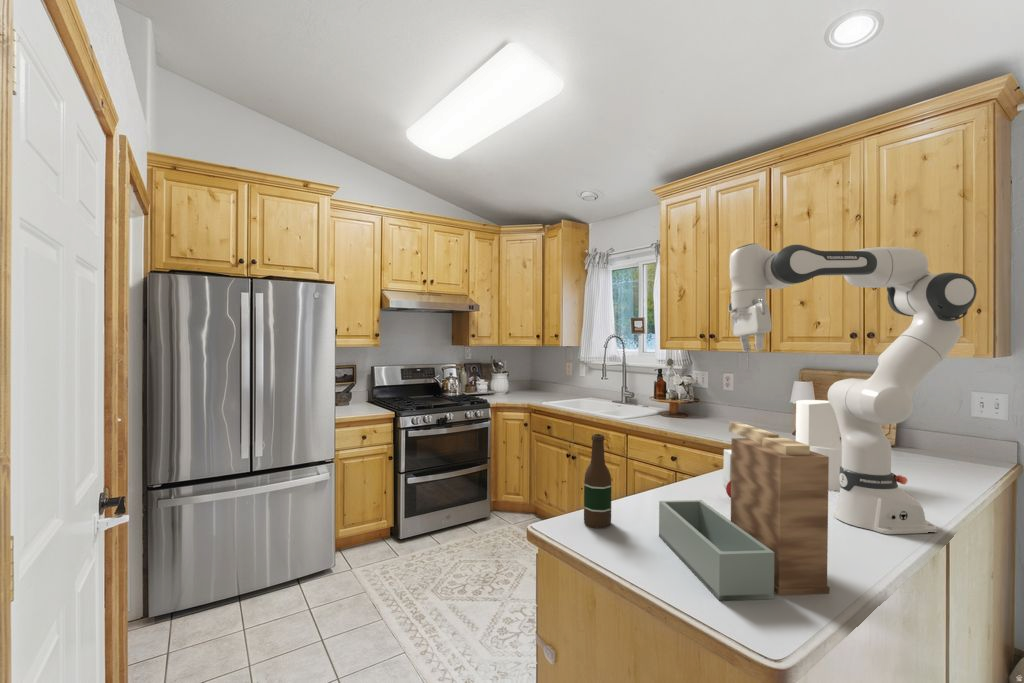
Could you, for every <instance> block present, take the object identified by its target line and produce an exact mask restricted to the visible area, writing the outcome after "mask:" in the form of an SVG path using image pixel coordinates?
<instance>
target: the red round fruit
mask: <svg viewBox="0 0 1024 683" xmlns="http://www.w3.org/2000/svg"><path fill="white" fill-rule="evenodd" d="M725 491H726V495H727V497H729V498H730V499H731V481H730V482H729V483H728V484H727V486H726V488H725Z"/></svg>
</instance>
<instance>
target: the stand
mask: <svg viewBox="0 0 1024 683" xmlns="http://www.w3.org/2000/svg"><path fill="white" fill-rule="evenodd" d="M730 450H731V498H730V521H731V522H733V523H734V524H735V525H737V526H738V527H740V528H741V529H742V530H744V531H745V532H746V533H748V534H749V535H751V536H752V537H753V538H755V539H756V540H758V541H759V542H760V543H762V544H763V545H765V546H766V547H767V548H769V549H770V550H772V551H773V552H774V594H776V595H778V596H795V595H796V596H797V595H800V596H801V595H819V594H820V595H823V594H824V595H825V594H827V595H828V594H830V592H831V590H830V589H831V587H830V586H828V545H829V544H828V541H829V540H828V538H829V536H828V534H829V490H828V474H829V457H828V456H825V455H822V454H819V453H816V452H813V451H810V455H785V454H783V453H780V452H777V451H775V450H772V449H769V448H767V447H764V446H762V443H759V442H756V441H754V440H751V439H748V438H746V437H740V438H739V437H738V438H737V437H731V448H730Z"/></svg>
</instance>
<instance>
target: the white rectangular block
mask: <svg viewBox="0 0 1024 683" xmlns="http://www.w3.org/2000/svg"><path fill="white" fill-rule="evenodd" d="M795 404H796V405H795V406H796V407H795V408H796V409H795V410H796V411H795V419H796V420H795V441H797V442H800V443H803V444H806V445H809V446H810V451H813V452H816V453H819V454H822V455H825V456H828V457H829V474H828V491H832V490H836V491H837V492H840V482H839V473H840V466H842V442H841V434H840V430H839V426H838V422H837V418H836V414H835V411H834V409H833V407H832V406H831V404H830V403H829V401H828V400H825V399H824V400H822V399H800V400H799V399H798V400H796V401H795ZM836 491H835V492H836Z"/></svg>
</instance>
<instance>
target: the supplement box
mask: <svg viewBox="0 0 1024 683" xmlns="http://www.w3.org/2000/svg"><path fill="white" fill-rule="evenodd" d="M722 470H723V472H722V473H723V479H722V480H723V483H722V486H723V487H724V488H725V489H726V486H727V484H728V483H729V482H730V481H731V449H727V448H726V449H723V469H722Z"/></svg>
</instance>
